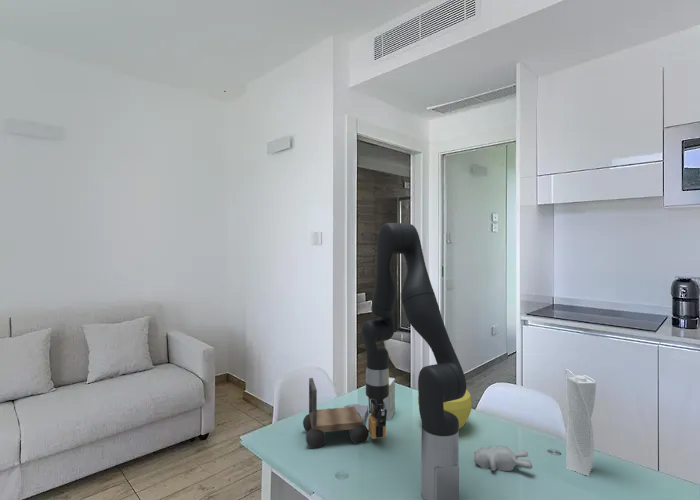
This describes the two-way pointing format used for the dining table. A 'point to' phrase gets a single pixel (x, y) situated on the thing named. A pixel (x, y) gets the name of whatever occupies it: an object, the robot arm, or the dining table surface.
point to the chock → (374, 427)
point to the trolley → (331, 421)
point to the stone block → (360, 411)
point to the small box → (390, 399)
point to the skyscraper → (580, 423)
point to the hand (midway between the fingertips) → (376, 432)
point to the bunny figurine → (500, 458)
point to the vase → (459, 408)
